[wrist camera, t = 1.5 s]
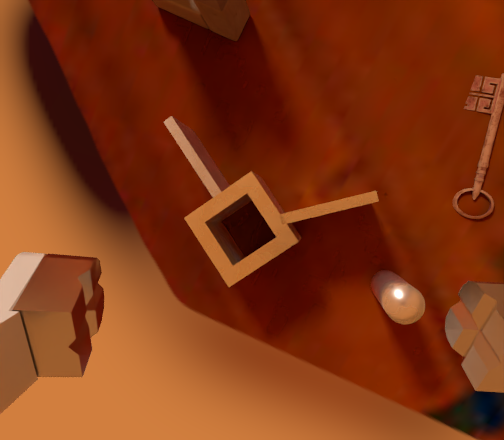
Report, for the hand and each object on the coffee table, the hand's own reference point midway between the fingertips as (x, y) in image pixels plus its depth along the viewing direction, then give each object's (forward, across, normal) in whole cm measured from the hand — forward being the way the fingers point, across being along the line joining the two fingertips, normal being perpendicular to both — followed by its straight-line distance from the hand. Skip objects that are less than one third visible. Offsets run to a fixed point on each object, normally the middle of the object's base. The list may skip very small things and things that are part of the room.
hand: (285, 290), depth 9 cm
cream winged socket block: (+34, -4, +15) cm, 37 cm away
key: (+32, -25, +8) cm, 42 cm away
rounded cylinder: (+25, -17, +22) cm, 38 cm away
